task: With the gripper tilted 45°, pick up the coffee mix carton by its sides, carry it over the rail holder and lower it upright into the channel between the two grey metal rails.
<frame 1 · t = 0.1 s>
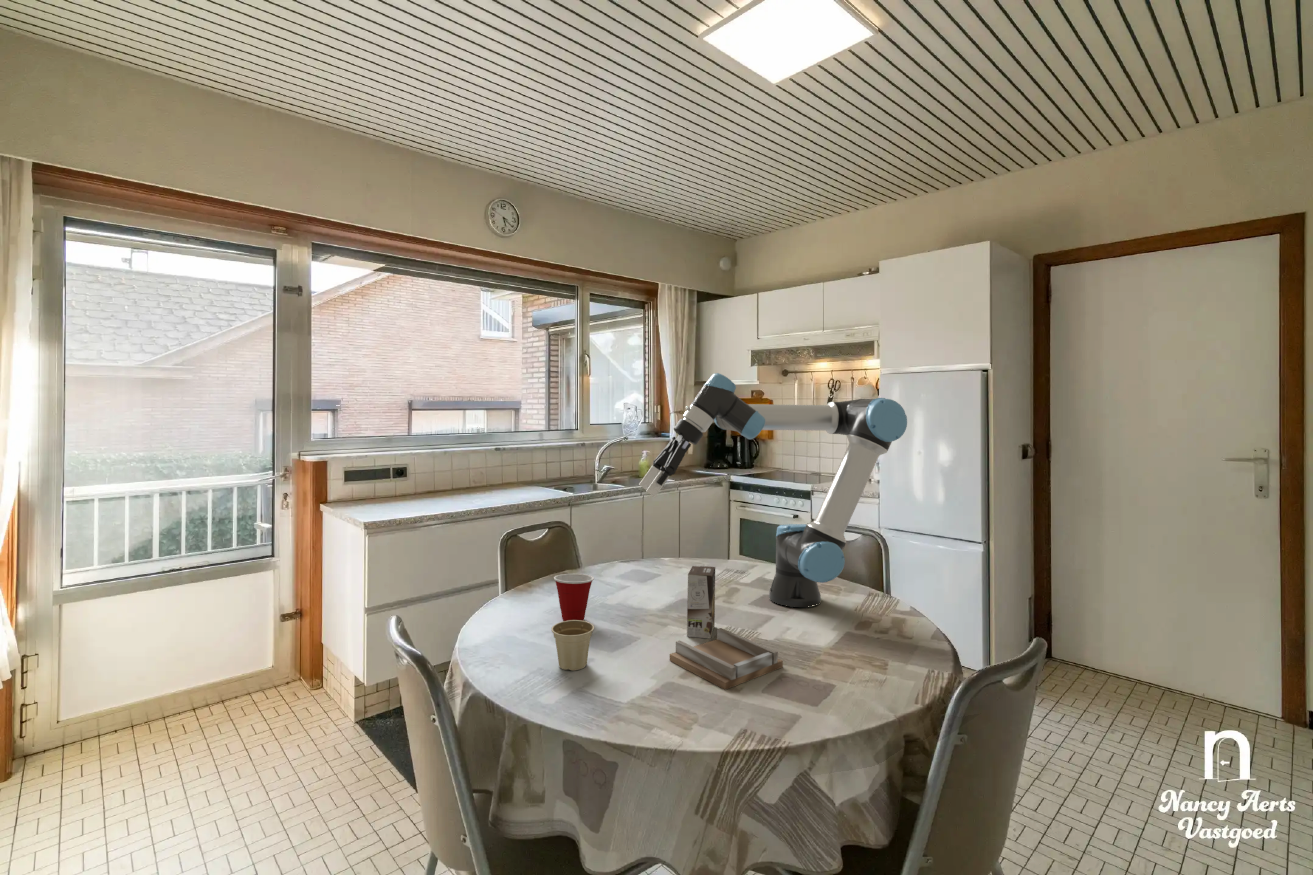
hand: (646, 490, 161), 36 cm above the table, tool tilted 35°, fingers open, 13 cm apart
plastic cup: (573, 620, 165), on the table
flower pot: (572, 666, 136), on the table
rail holder: (725, 663, 138), on the table
coffee box: (701, 632, 158), on the table
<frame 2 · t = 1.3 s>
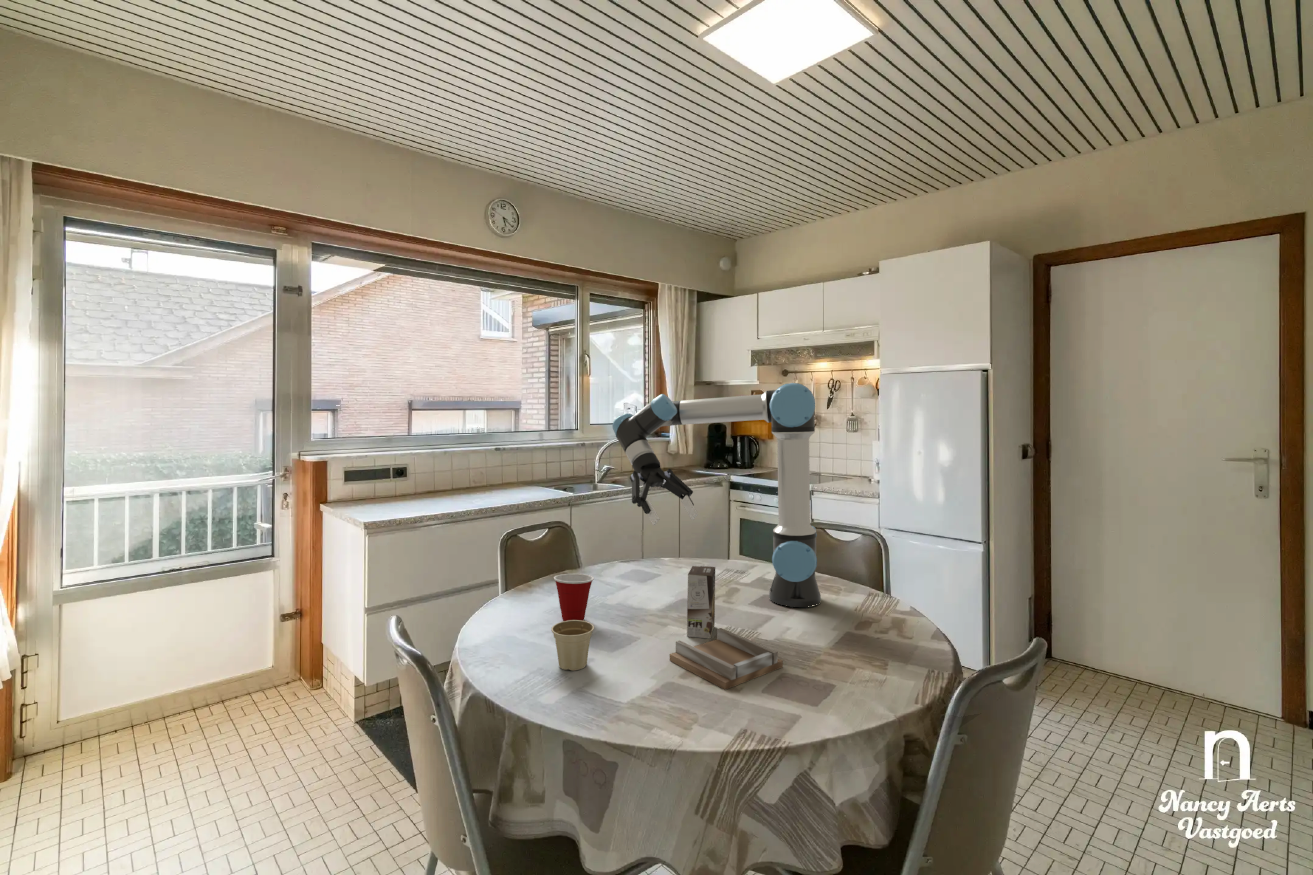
hand: (676, 519, 164), 28 cm above the table, tool tilted 45°, fingers open, 13 cm apart
nothing on the table moved.
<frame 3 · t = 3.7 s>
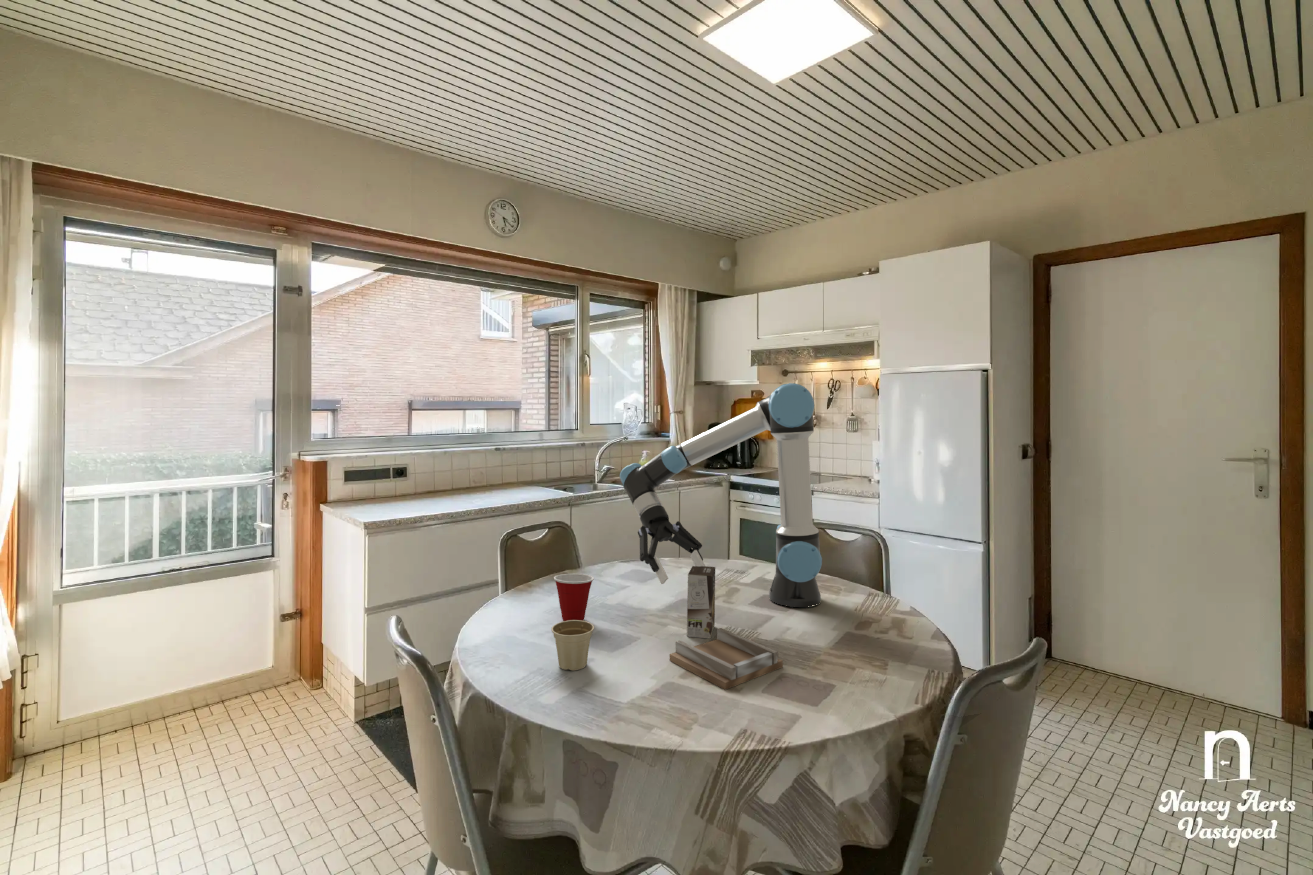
hand: (685, 577, 161), 13 cm above the table, tool tilted 45°, fingers open, 13 cm apart
nothing on the table moved.
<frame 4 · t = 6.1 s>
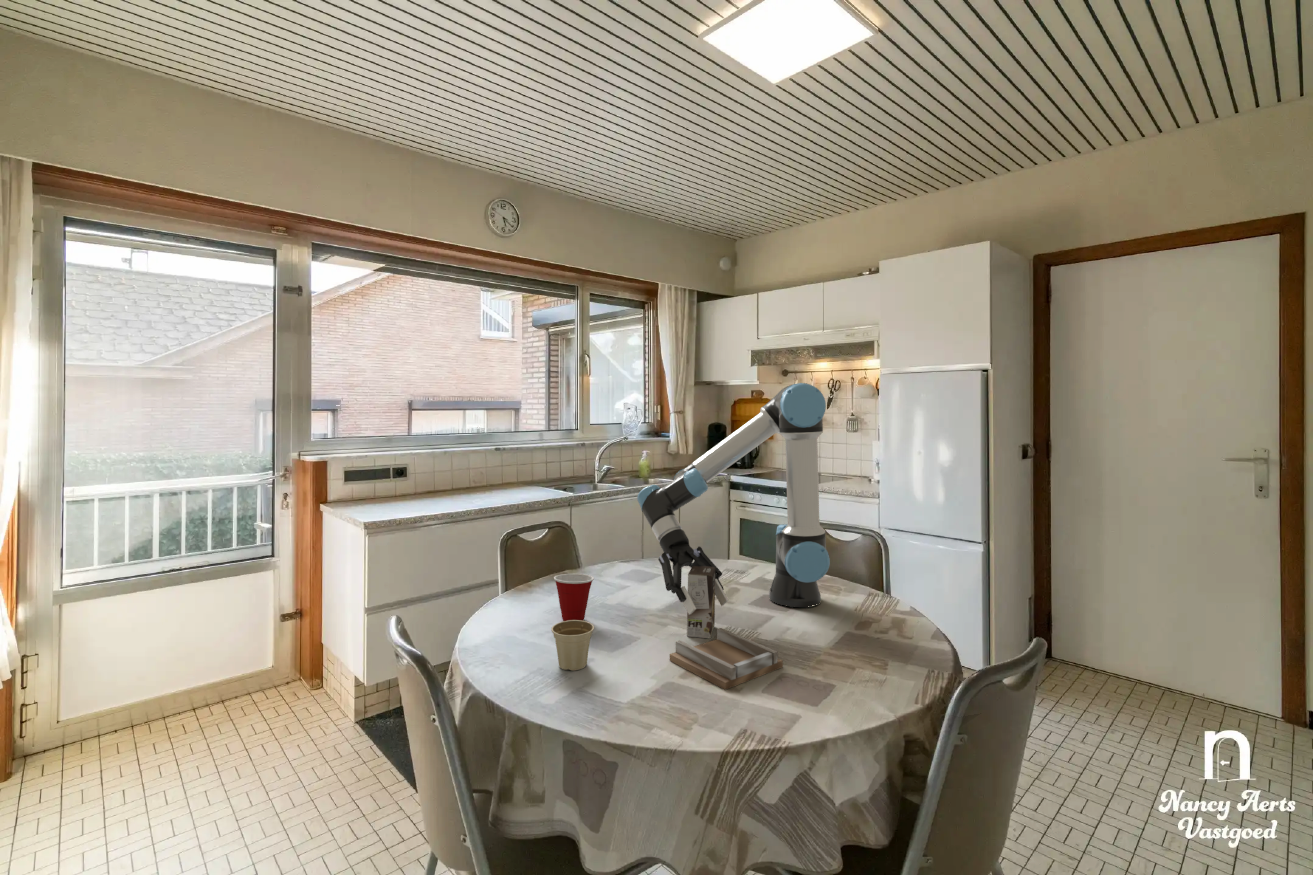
hand: (709, 607, 155), 7 cm above the table, tool tilted 45°, fingers closed on coffee box, 11 cm apart
coffee box: (701, 632, 158), on the table, touching gripper
everything else where it was.
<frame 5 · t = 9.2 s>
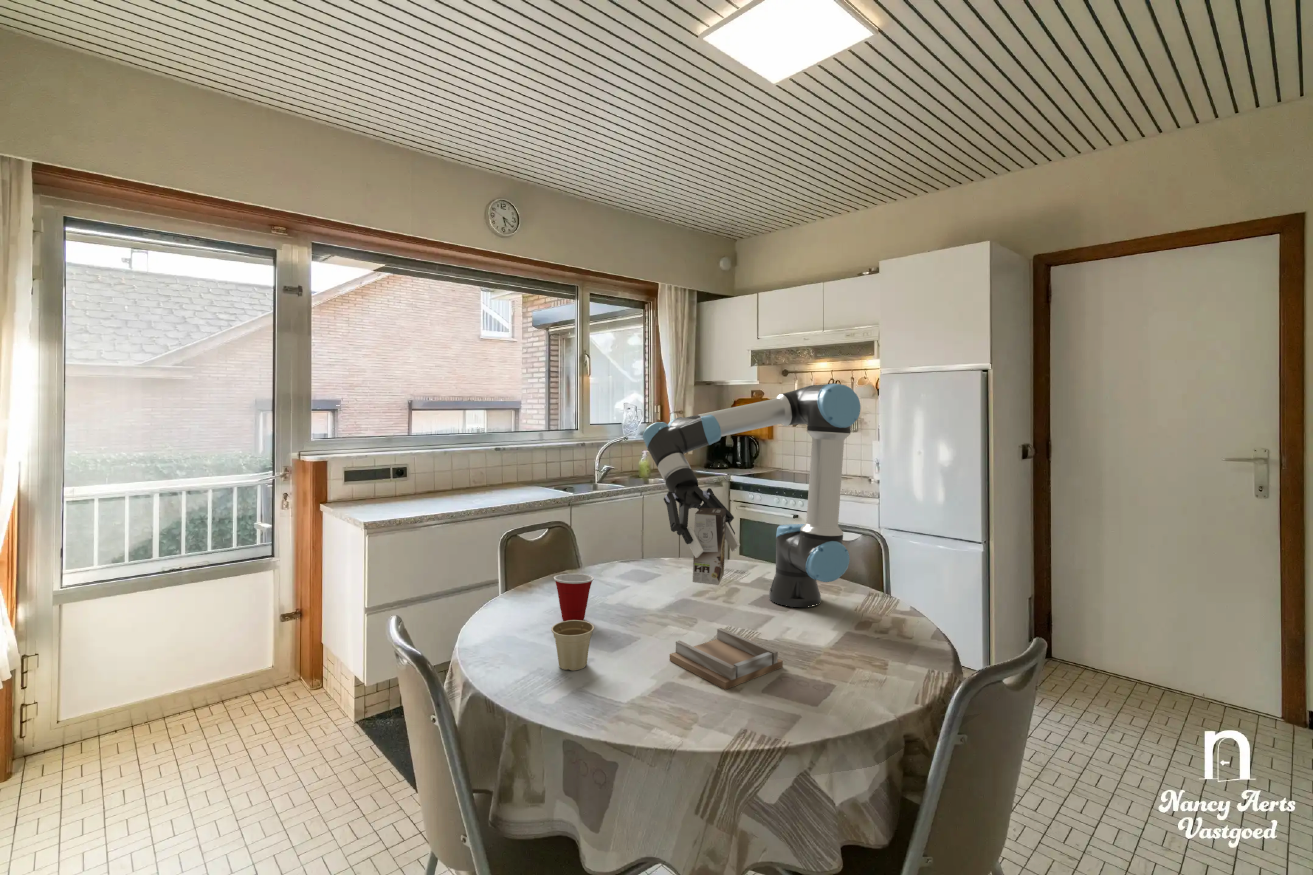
hand: (718, 551, 140), 25 cm above the table, tool tilted 45°, fingers closed on coffee box, 11 cm apart
coffee box: (708, 579, 143), point 18 cm above the table, touching gripper
everything else where it was.
when the fingers open (9 cm above the table, at t = 12.6 s): coffee box stays where it is, resting on rail holder.
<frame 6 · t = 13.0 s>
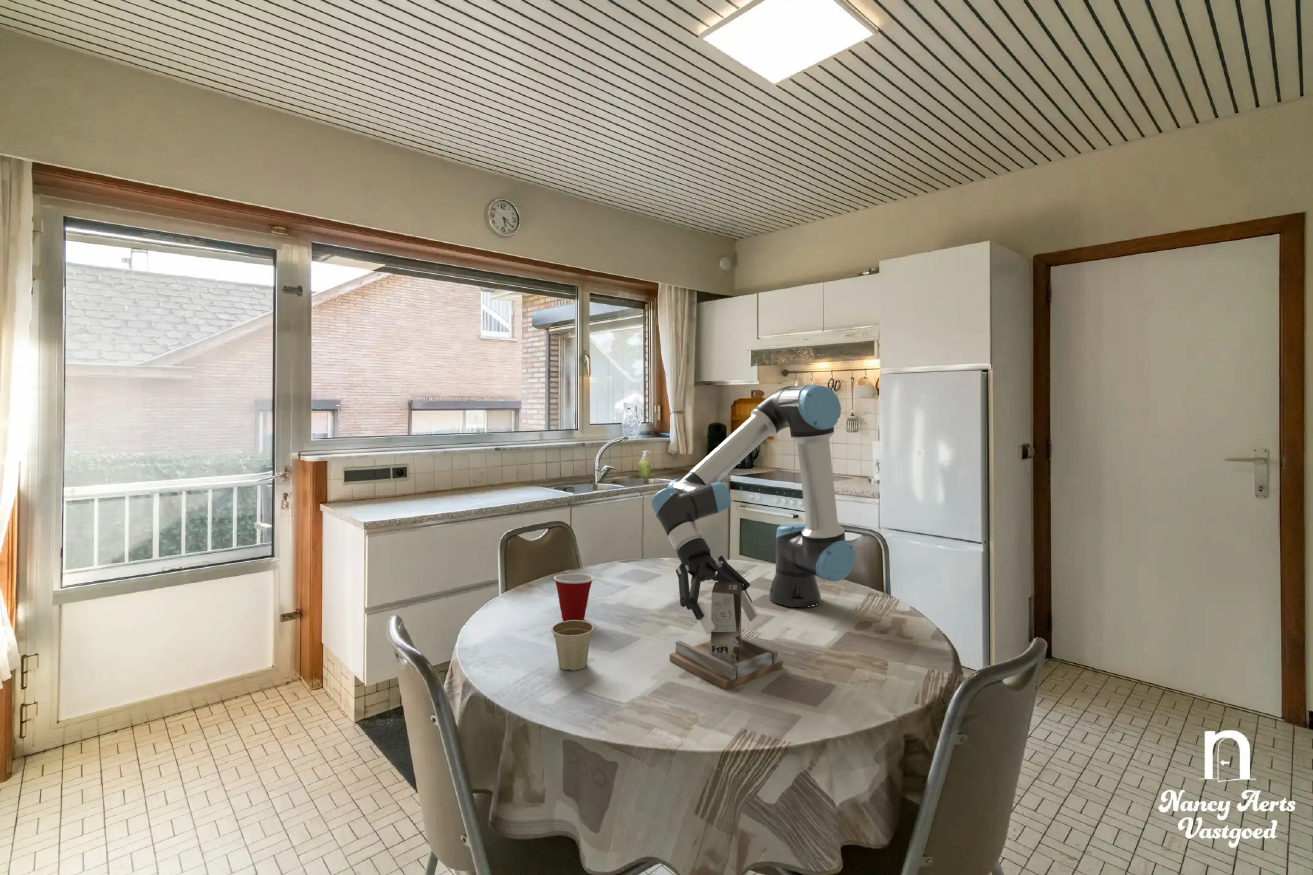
hand: (733, 624, 136), 10 cm above the table, tool tilted 45°, fingers open, 13 cm apart
coffee box: (725, 657, 138), point 1 cm above the table, touching rail holder
everything else where it was.
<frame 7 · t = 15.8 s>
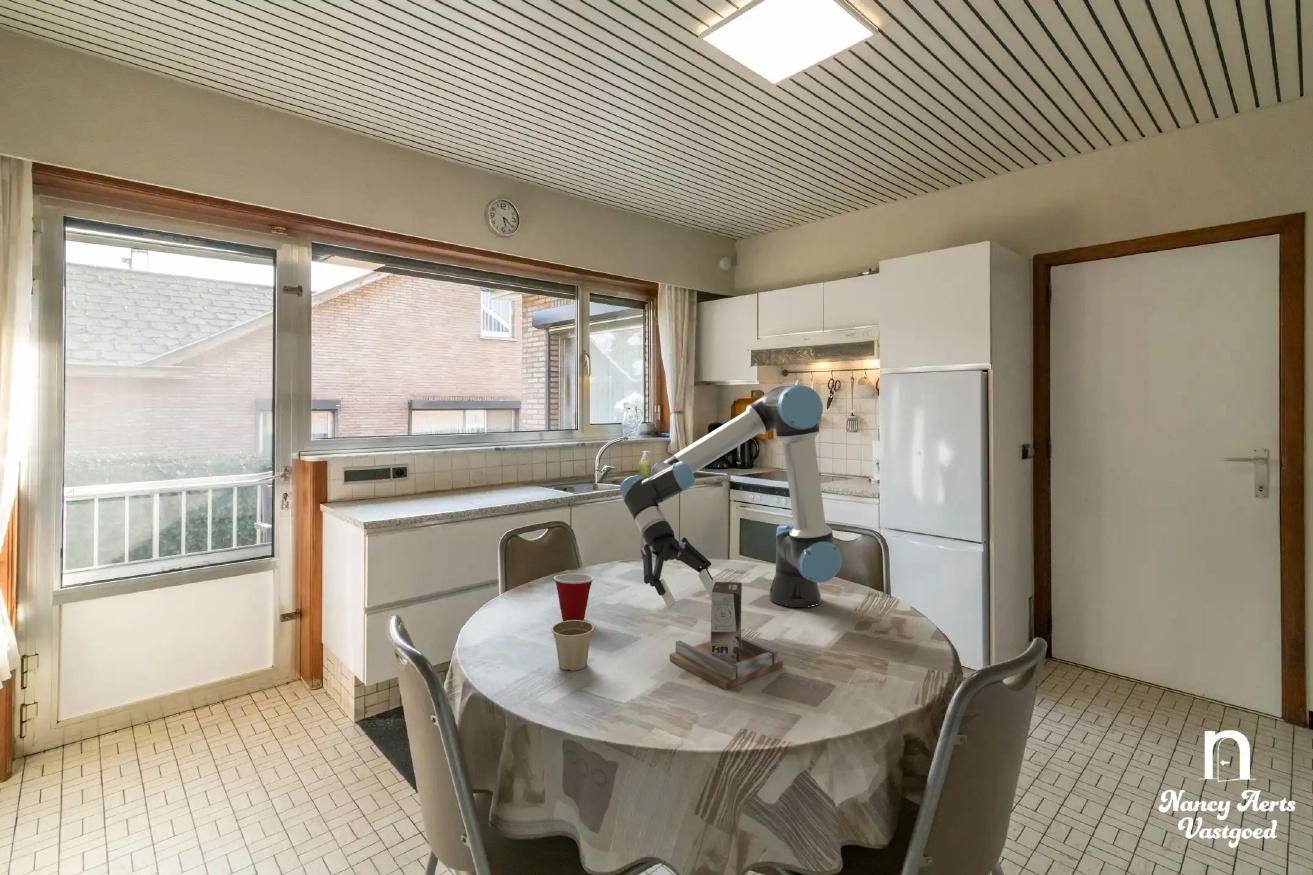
hand: (694, 599, 146), 12 cm above the table, tool tilted 45°, fingers open, 13 cm apart
nothing on the table moved.
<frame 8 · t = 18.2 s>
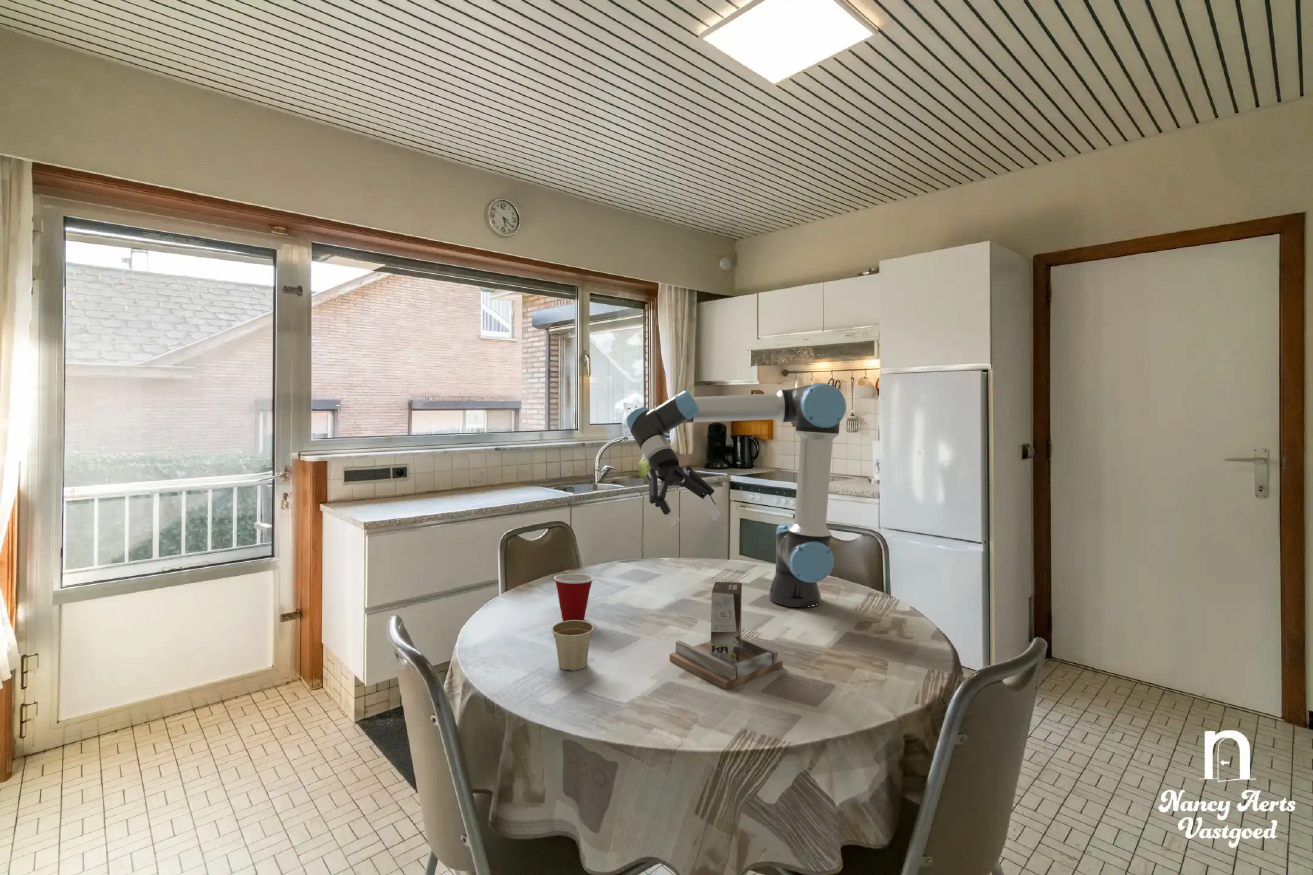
hand: (697, 520, 152), 30 cm above the table, tool tilted 45°, fingers open, 13 cm apart
nothing on the table moved.
at the end: coffee box inside the target area on the rail holder (0.2 cm from its centre), point 1.3 cm above the rail holder's base; coffee box tilted 0°; the gripper is holding nothing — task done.
